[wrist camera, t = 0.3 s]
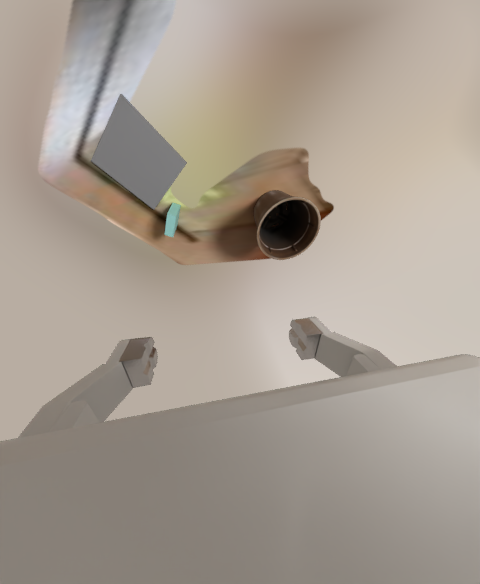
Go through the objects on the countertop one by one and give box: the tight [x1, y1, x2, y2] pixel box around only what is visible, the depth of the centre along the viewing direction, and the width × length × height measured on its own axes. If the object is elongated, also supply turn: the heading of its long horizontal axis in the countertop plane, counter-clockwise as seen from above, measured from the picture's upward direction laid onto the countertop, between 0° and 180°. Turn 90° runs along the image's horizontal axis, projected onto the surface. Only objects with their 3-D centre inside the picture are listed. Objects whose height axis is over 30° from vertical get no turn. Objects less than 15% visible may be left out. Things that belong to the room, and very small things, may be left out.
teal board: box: [165, 203, 181, 237], centre depth 50 cm, size 2×6×9 cm, turn 158°
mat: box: [91, 94, 187, 209], centre depth 44 cm, size 16×16×1 cm
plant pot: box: [254, 190, 320, 260], centre depth 50 cm, size 16×16×16 cm
